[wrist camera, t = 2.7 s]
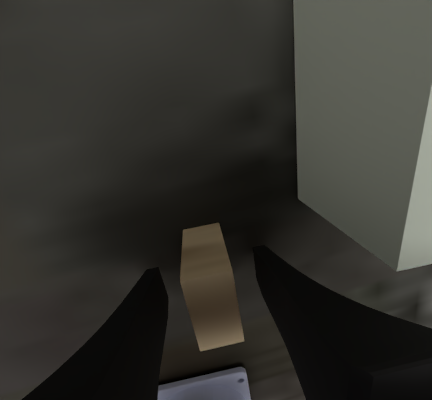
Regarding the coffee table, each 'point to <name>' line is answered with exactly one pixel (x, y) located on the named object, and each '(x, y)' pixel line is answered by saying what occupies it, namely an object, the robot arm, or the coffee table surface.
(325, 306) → the robot arm
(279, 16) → the coffee table surface
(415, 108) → the box
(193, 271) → the block
